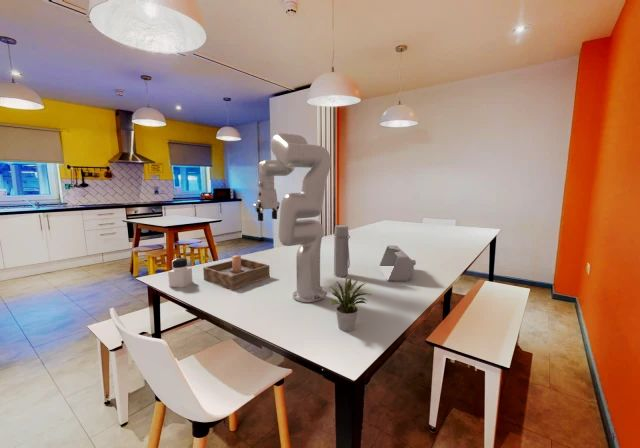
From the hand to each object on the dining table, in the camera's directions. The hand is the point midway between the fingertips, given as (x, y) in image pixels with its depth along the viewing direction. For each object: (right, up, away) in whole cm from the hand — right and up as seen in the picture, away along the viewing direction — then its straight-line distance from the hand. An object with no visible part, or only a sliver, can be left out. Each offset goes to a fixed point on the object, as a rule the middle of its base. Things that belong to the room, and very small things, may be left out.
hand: (267, 219), depth 146 cm
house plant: (+35, -36, -56) cm, 75 cm away
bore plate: (-13, -29, -8) cm, 33 cm away
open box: (-13, -29, -8) cm, 33 cm away
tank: (+67, -28, -1) cm, 73 cm away
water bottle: (+38, -28, -4) cm, 48 cm away
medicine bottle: (-37, -30, -17) cm, 50 cm away
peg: (-13, -28, -8) cm, 32 cm away
